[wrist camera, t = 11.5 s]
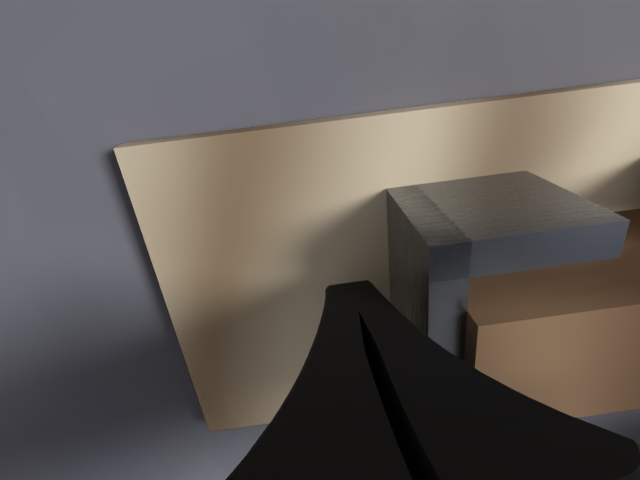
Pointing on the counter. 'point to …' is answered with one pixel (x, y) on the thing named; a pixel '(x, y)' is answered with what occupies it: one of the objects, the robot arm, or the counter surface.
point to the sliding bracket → (484, 241)
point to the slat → (563, 331)
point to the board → (336, 215)
